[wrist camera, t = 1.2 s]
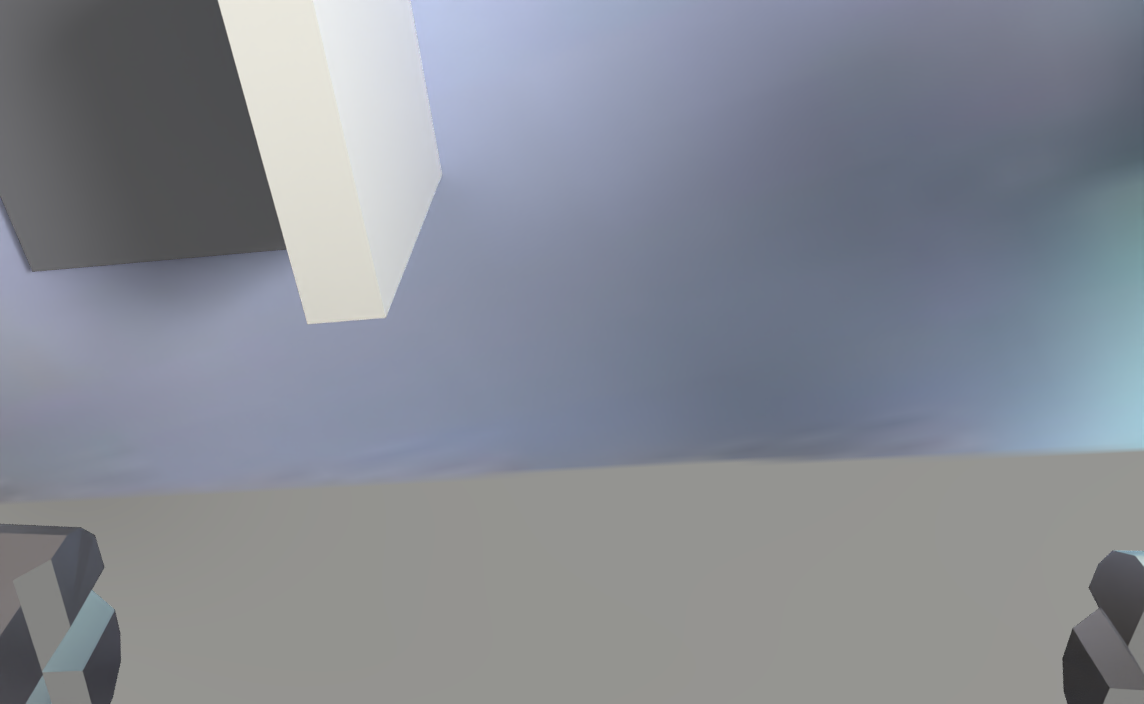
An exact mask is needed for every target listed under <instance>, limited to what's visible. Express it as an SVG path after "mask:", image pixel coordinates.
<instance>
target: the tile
mask: <svg viewBox="0 0 1144 704" xmlns="http://www.w3.org/2000/svg"><path fill="white" fill-rule="evenodd" d="M218 3H219V6H220V10H221V14H222V17H223V21H224V24H225V28H226V32H227V35H228V39H229V42H230V46H231V50H232V53H233V57H234V61H235V64H236V68H237V71H238V75H239V79H240V82H241V86H242V89H243V93H244V97H245V100H246V104H247V107H248V111H249V115H250V118H251V122H252V126H253V129H254V133H255V136H256V140H257V144H258V147H259V151H260V154H261V158H262V162H263V165H264V169H265V172H266V176H267V180H268V183H269V187H270V190H271V194H272V198H273V201H274V205H275V209H276V212H277V216H278V219H279V223H280V227H281V230H282V234H283V237H284V241H285V245H286V248H287V252H288V255H289V259H290V263H291V266H292V270H293V273H294V277H295V281H296V284H297V288H298V292H299V295H300V299H301V302H302V306H303V310H304V313H305V317H306V320H307V324H316V323H329V322H341V321H353V320H365V319H377V318H386V316H387V314H388V311H389V309H390V306H391V304H392V301H393V299H394V296H395V294H396V291H397V288H398V286H399V283H400V281H401V278H402V276H403V273H404V271H405V268H406V266H407V263H408V260H409V258H410V255H411V253H412V250H413V248H414V245H415V243H416V240H417V238H418V235H419V233H420V230H421V227H422V225H423V222H424V220H425V217H426V215H427V212H428V210H429V207H430V205H431V202H432V199H433V197H434V194H435V192H436V189H437V187H438V184H439V182H440V179H441V177H442V171H441V165H440V160H439V154H438V149H437V143H436V138H435V132H434V127H433V121H432V116H431V110H430V105H429V99H428V94H427V88H426V83H425V77H424V72H423V66H422V61H421V55H420V50H419V44H418V39H417V33H416V28H415V23H414V17H413V12H412V6H411V1H410V0H218Z"/></svg>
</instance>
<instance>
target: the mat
mask: <svg viewBox="0 0 1144 704" xmlns="http://www.w3.org/2000/svg"><path fill="white" fill-rule="evenodd" d="M0 197H1V199H2V201H3V204H4V206H5V208H6V211H7V213H8V215H9V218H10V220H11V222H12V225H13V227H14V229H15V232H16V234H17V237H18V239H19V241H20V244H21V246H22V248H23V251H24V253H25V255H26V258H27V260H28V262H29V265H30V267H31V269H32V272H35V271H46V270H57V269H69V268H80V267H92V266H103V265H114V264H126V263H137V262H148V261H160V260H171V259H182V258H194V257H205V256H217V255H228V254H239V253H251V252H262V251H273V250H285V249H287V248H286V245H285V241H284V237H283V234H282V230H281V227H280V223H279V219H278V216H277V212H276V209H275V205H274V201H273V198H272V194H271V190H270V187H269V183H268V180H267V176H266V172H265V169H264V165H263V162H262V158H261V154H260V151H259V147H258V144H257V140H256V136H255V133H254V129H253V126H252V122H251V118H250V115H249V111H248V107H247V104H246V100H245V97H244V93H243V89H242V86H241V82H240V79H239V75H238V71H237V68H236V64H235V61H234V57H233V53H232V50H231V46H230V42H229V39H228V35H227V32H226V28H225V24H224V21H223V17H222V14H221V10H220V6H219V3H218V0H0Z"/></svg>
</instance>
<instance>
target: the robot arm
mask: <svg viewBox="0 0 1144 704" xmlns="http://www.w3.org/2000/svg"><path fill="white" fill-rule="evenodd" d="M103 569H104V564H103V561H102V557H101V554H100V551H99V547H98V544H97V540H96V537H95V535H94V534H92V533H90V532H88V531H87V530H85V529H83V528H81V527H58V526H36V525H13V524H12V525H11V524H0V704H110V703H111V701H112V698H113V695H114V690H115V686H116V681H117V676H118V672H119V667H120V663H121V648H120V647H121V646H120V645H121V644H120V630H119V625H118V621H117V617H116V613H115V609H113V608H112V607H111V606H110V605H109V604H108V603H107V602H105V601H104V600H103V599H102V598H101V597H100V596H99V595H97V594H96V593H95V592H94V591H93V590H92V588H93V587H94V585H95V583H96V581H97V580H98V578H99V576H100V575H101V573H102V571H103ZM1089 590H1090V592H1091V593H1092V596H1093V598H1094V600H1095V601H1096V603H1097V605H1098V607H1099V608H1098V609H1097V610H1096V611H1095V612H1093V613H1092V614H1090V615H1089V616H1088V617H1087V618H1085V619H1084V620H1083V621H1081V622H1080V623H1079V624H1077V625H1076V626H1075V627H1074V628H1073V629H1072V632H1071V635H1070V638H1069V640H1068V643H1067V647H1066V650H1065V652H1064V655H1063V659H1062V660H1063V687H1064V694H1065V697H1066V700H1067V704H1144V551H1112V552H1111V553H1110V554H1109V555H1108V556H1106V557H1105V558H1104V559H1103V560H1102V561H1101V562H1100V563H1099V564H1098V566H1097V569H1096V571H1095V573H1094V576H1093V579H1092V581H1091V583H1090V585H1089Z"/></svg>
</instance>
